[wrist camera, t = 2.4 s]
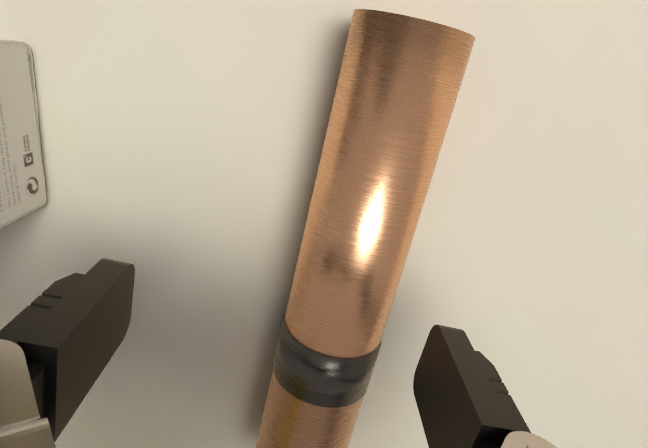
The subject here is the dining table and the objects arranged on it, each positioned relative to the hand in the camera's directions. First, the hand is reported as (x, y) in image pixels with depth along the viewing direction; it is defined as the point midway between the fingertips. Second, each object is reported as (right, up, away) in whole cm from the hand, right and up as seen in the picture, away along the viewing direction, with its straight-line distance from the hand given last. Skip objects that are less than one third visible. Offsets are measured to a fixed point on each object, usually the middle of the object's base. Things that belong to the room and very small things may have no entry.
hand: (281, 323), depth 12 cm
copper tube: (+1, +1, +5) cm, 5 cm away
